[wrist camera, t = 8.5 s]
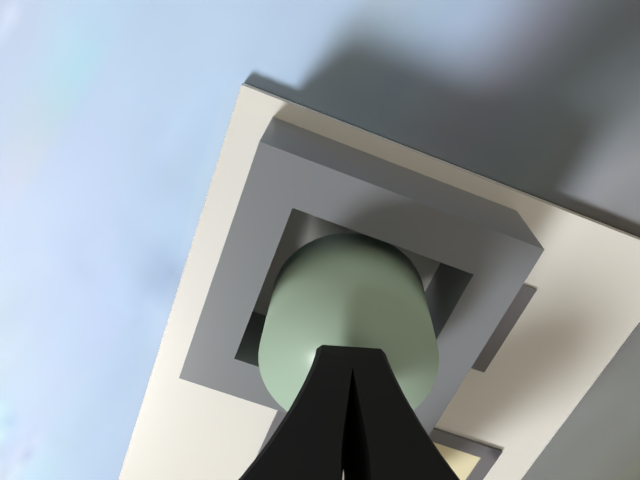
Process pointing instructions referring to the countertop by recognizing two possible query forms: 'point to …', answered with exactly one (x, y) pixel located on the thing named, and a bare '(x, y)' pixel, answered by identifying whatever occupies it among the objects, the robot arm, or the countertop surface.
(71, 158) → the countertop surface
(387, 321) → the button
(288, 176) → the button housing
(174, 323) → the board
